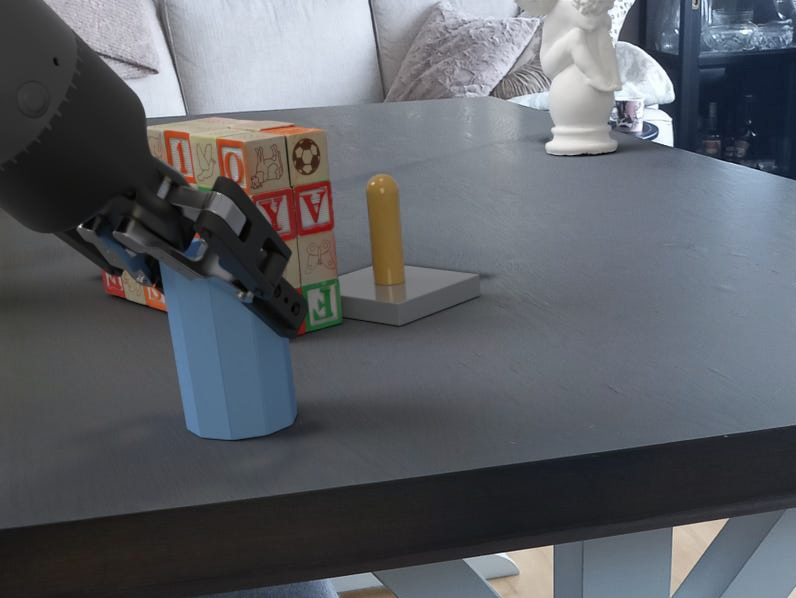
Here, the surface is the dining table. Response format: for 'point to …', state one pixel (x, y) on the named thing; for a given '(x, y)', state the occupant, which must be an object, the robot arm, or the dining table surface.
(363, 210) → the dining table surface
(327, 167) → the stack of blocks
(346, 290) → the peg stand
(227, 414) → the sleeve
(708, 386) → the dining table surface
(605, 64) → the cherub figurine
